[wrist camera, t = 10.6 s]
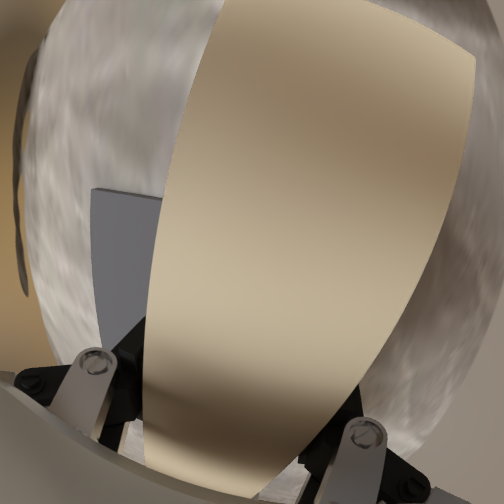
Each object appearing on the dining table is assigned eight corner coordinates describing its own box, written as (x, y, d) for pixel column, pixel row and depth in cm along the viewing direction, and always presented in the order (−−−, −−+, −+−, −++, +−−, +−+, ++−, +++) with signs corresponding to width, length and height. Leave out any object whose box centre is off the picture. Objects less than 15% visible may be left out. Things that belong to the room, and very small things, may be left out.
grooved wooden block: (273, 71, 8) (236, -24, 3) (389, 109, 8) (475, 57, 2) (182, 422, 15) (148, 491, 10) (245, 444, 15) (225, 518, 9)
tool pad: (97, 187, 22) (91, 189, 21) (179, 201, 21) (174, 203, 20) (114, 382, 31) (111, 386, 30) (172, 406, 30) (169, 411, 29)
